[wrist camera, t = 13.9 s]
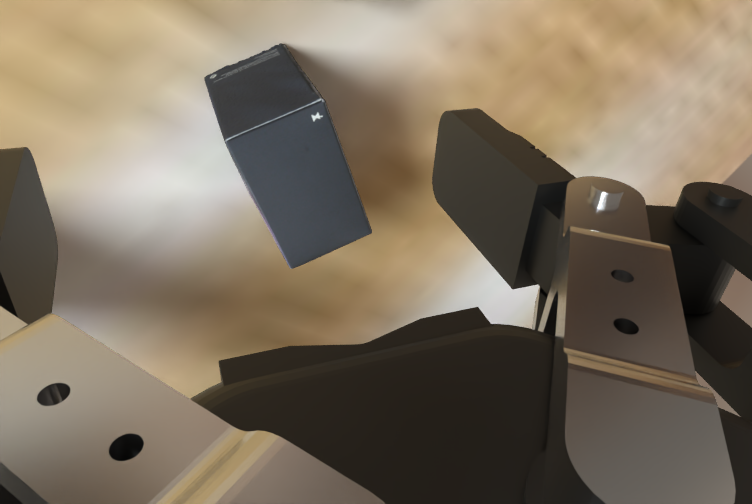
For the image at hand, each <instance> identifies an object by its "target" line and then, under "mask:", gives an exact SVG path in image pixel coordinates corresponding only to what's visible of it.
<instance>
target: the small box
mask: <svg viewBox="0 0 752 504" xmlns="http://www.w3.org/2000/svg"><path fill="white" fill-rule="evenodd" d="M205 83H206V86H207V89H208V92H209V96H210V99H211V102H212V105H213V108H214V111H215V114H216V117H217V120H218V123H219V126H220V129H221V132H222V135H223V138H224V141H225V143H226V146H227V148H228V150H229V152H230V155H231V157H232V159H233V161H234V163H235V165H236V167H237V169H238V171H239V173H240V175H241V177H242V179H243V181H244V184H245V186H246V188H247V190H248V192H249V194H250V196H251V198H252V199H253V201H254V203H255V205H256V207H257V209H258V210H259V212H260V214H261V216H262V218H263V220H264V222H265V224H266V225H267V227H268V229H269V231H270V233H271V235H272V237H273V238H274V240H275V242H276V244H277V246H278V248H279V249H280V251H281V253H282V255H283V257H284V258H285V260H286V262H287V264H288V265H289V267H290V268H291V269H293V268H295V267H298V266H300V265H303V264H305V263H307V262H309V261H312V260H314V259H316V258H318V257H321V256H323V255H325V254H327V253H330V252H332V251H334V250H336V249H338V248H340V247H343V246H345V245H347V244H349V243H351V242H354V241H356V240H358V239H360V238H362V237H364V236H366V235H369V234H371V233H372V230H371V227H370V224H369V221H368V218H367V216H366V213H365V210H364V207H363V204H362V202H361V199H360V196H359V193H358V190H357V188H356V185H355V182H354V179H353V176H352V174H351V171H350V168H349V165H348V163H347V160H346V157H345V155H344V152H343V149H342V146H341V144H340V141H339V138H338V135H337V132H336V130H335V127H334V124H333V122H332V118H331V116H330V113H329V111H328V108H327V105H326V102H325V100H324V99H323V97H322V96H321V95H320V93H319V92H318V90H317V89H316V88H315V86H314V85H313V83H311V81H310V80H309V78H308V77H307V76H306V74H305V73H304V72H303V71H302V69H301V68H300V66H299V65H298V64H297V62H296V61H295V59H294V58H293V56H292V55H291V53H290V51H289V50H288V48H287V47H286V45H284V44H281V43H280V44H279V45H275V46H274V47H272V48H271V49H269V50H267V51H263V52H262V53H260V54H257V55H255V56H253V57H250V58H248V59H245V60H243V61H239V62H238V63H236V64H233V65H231V66H225V67H224V68H222V69H219V70H218V71H216V72H214V73H212V74H210V75H207V76H206V77H205Z"/></svg>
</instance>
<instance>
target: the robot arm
mask: <svg viewBox="0 0 752 504" xmlns="http://www.w3.org/2000/svg"><path fill="white" fill-rule="evenodd" d="M432 184H433V191H434V195H435V198H436V200H437V202H438V204H439V205H440V206H441V207H442V208H443V209H444V211H445V212H446V213H447V214H448V215H449V216H450V218H451V219H452V220H453V221H454V222H455V223H456V224H457V226H458V227H459V228H460V229H461V230H462V231H463V233H464V234H465V235H466V236H467V237H468V238H469V239H470V241H471V242H472V243H473V244H474V245H475V246H476V248H477V249H478V250H479V251H480V252H481V253H482V254H483V256H484V257H485V258H486V259H487V260H488V261H489V263H490V264H491V265H492V266H493V267H494V268H495V269H496V271H497V272H498V273H499V274H500V275H501V276H502V278H503V279H504V280H505V281H506V282H507V283H508V284H509V286H510V287H511V288H512V289H517V288H522V287H527V286H532V285H537V284H538V285H539V286H540V287H539V290H538V294H537V298H536V301H535V309H534V316H533V324H532V329H529V328H525V327H519V326H512V325H502V324H490V322H489V321H488V320H487V318H486V317H485V316H484V314H483V313H482V312H481V310H480V309H479V308H478V307H475V308H470V309H465V310H460V311H456V312H451V313H446V314H441V315H436V316H432V317H427V318H422V319H419V320H417V321H415V322H413V323H410V324H408V325H406V326H404V327H401V328H399V329H397V330H395V331H392V332H390V333H388V334H386V335H384V336H381V337H379V338H377V339H375V340H372V341H370V342H368V343H364V344H357V345H316V346H288V347H283V348H278V349H273V350H269V351H264V352H259V353H254V354H249V355H245V356H240V357H235V358H230V359H225V360H221V361H219V367H220V374H221V383H219V384H217V385H214V386H212V387H210V388H208V389H207V390H205V391H203V392H201V393H199V394H198V395H196V396H194V397H193V398H191V399H189V398H187V397H186V396H184V395H183V394H181V393H179V392H178V391H176V390H175V389H173V388H172V387H170V386H168V385H167V384H165V383H164V382H162V381H160V380H159V379H157V378H156V377H154V376H153V375H151V374H149V373H148V372H146V371H145V370H143V369H142V368H140V367H138V366H137V365H135V364H134V363H132V362H131V361H129V360H127V359H126V358H124V357H123V356H121V355H119V354H118V353H116V352H115V351H113V350H112V349H110V348H108V347H107V346H105V345H104V344H102V343H101V342H99V341H97V340H96V339H94V338H93V337H91V336H90V335H88V334H86V333H85V332H83V331H82V330H80V329H78V328H77V327H75V326H74V325H72V324H71V323H69V322H67V321H66V320H64V319H63V318H61V317H59V316H57V315H54V314H51V312H52V304H53V295H54V287H55V278H56V270H57V261H58V245H57V238H56V233H55V228H54V224H53V221H52V217H51V214H50V211H49V208H48V204H47V201H46V198H45V195H44V191H43V188H42V185H41V181H40V178H39V175H38V172H37V168H36V165H35V162H34V159H33V156H32V154H31V152H30V150H29V149H28V148H27V147H22V148H11V149H0V504H752V328H751V327H750V326H749V325H748V324H747V323H745V322H744V321H743V320H742V319H741V318H739V317H738V316H737V315H736V314H735V313H734V312H732V311H731V310H730V309H729V308H728V307H726V306H725V305H724V304H723V303H722V302H721V301H720V299H721V297H722V295H723V293H724V291H725V289H726V287H727V285H728V283H729V281H730V279H731V277H732V275H733V273H734V271H735V269H737V270H738V271H739V272H741V273H742V274H743V275H745V276H746V277H747V278H749V279H750V280H751V281H752V196H751V195H749V194H747V193H745V192H743V191H741V190H738V189H736V188H734V187H731V186H727V185H723V184H718V183H711V182H694V183H690V184H687V185H686V186H684V188H683V190H682V192H681V195H680V197H679V199H678V202H677V204H676V207H673V206H652V205H646V204H645V200H644V197H643V196H642V195H641V194H640V193H639V192H638V191H637V190H635V189H634V188H632V187H631V186H629V185H627V184H624V183H622V182H619V181H616V180H613V179H608V178H603V177H594V176H586V177H579V178H576V177H574V176H573V175H572V174H570V173H569V172H568V171H567V170H565V169H564V168H563V167H561V166H560V165H559V164H557V163H556V162H555V161H553V160H552V159H551V158H547V157H546V155H545V154H544V153H543V152H541V151H540V150H539V149H535V146H534V145H532V144H531V143H530V142H528V141H527V140H526V139H524V138H523V137H522V136H520V135H517V134H515V133H513V132H510V131H508V130H506V129H505V128H504V127H503V126H501V125H500V124H499V123H497V122H496V121H495V120H493V119H492V118H491V117H490V116H488V115H487V114H486V113H484V112H483V111H482V110H480V109H478V108H475V109H463V110H452V111H446V112H444V113H443V114H442V116H441V119H440V122H439V128H438V136H437V144H436V152H435V160H434V168H433V177H432ZM695 371H697V373H698V374H699V375H700V376H701V377H702V378H703V379H704V380H705V381H706V382H707V383H708V384H709V385H710V386H711V387H712V388H713V389H714V390H715V391H716V392H717V393H718V394H719V395H720V396H721V397H722V398H723V399H724V400H725V401H726V402H727V403H728V404H729V405H730V406H731V407H732V408H733V409H734V410H735V411H736V412H737V413H738V414H739V415H740V416H741V417H739V416H737V415H735V414H732V413H730V412H728V411H725V410H723V409H721V408H719V407H718V405H717V402H716V399H715V396H714V394H713V393H712V391H711V390H710V389H709V388H707V387H703V386H701V385H700V384H699V383H698V381H697V378H696V373H695Z"/></svg>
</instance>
